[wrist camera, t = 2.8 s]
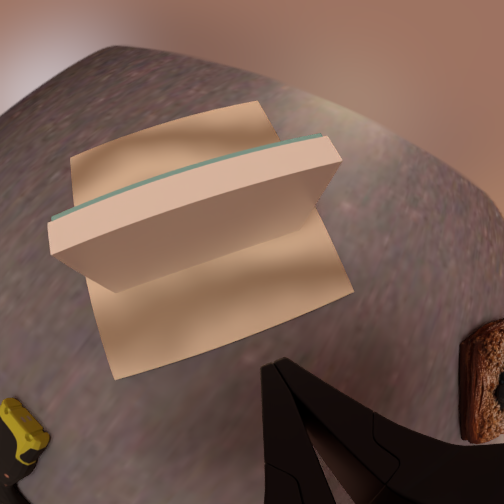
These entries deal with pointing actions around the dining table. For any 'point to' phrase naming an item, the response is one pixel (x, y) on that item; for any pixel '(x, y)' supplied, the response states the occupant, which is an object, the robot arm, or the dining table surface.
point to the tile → (194, 213)
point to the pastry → (482, 384)
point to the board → (211, 272)
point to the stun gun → (17, 448)
